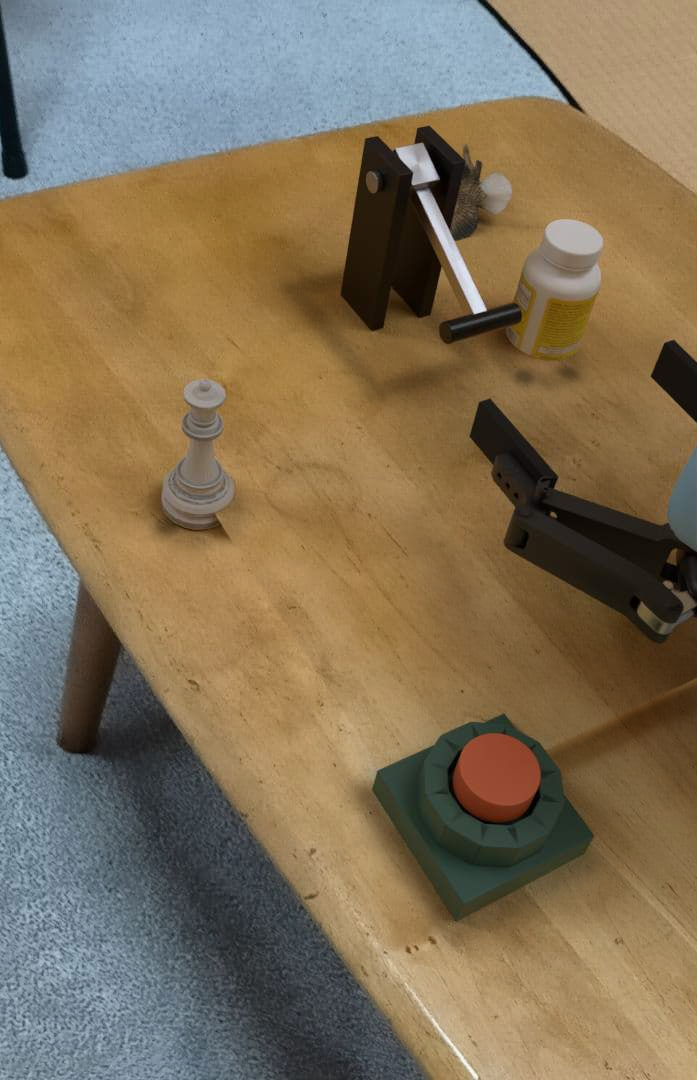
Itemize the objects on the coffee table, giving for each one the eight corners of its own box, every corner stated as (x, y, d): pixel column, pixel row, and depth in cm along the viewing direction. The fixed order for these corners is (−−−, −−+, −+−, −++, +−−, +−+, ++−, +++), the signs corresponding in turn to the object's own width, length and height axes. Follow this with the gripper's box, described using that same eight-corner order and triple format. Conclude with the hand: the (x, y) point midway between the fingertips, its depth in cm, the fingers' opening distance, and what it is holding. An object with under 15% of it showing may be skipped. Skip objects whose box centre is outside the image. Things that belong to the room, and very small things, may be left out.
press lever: (511, 331, 81) (528, 314, 79) (442, 351, 78) (457, 334, 76) (429, 158, 83) (444, 137, 81) (359, 173, 80) (372, 152, 78)
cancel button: (502, 739, 63) (510, 720, 61) (548, 803, 61) (557, 785, 59) (436, 770, 61) (443, 751, 60) (482, 836, 59) (489, 818, 58)
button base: (496, 732, 67) (513, 691, 64) (584, 854, 63) (607, 816, 60) (370, 790, 64) (382, 749, 61) (455, 922, 60) (472, 885, 57)
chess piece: (156, 480, 76) (159, 356, 69) (227, 475, 77) (238, 352, 70) (166, 534, 73) (170, 410, 66) (239, 528, 74) (251, 406, 67)
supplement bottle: (588, 350, 90) (629, 238, 83) (550, 385, 87) (588, 272, 80) (526, 315, 92) (561, 202, 84) (487, 348, 89) (519, 234, 81)
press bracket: (473, 357, 88) (519, 189, 78) (378, 385, 84) (412, 214, 74) (386, 259, 94) (417, 92, 84) (294, 282, 91) (315, 111, 80)
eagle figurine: (433, 169, 101) (357, 183, 95) (493, 123, 96) (416, 135, 90) (472, 254, 101) (399, 274, 95) (534, 213, 96) (459, 231, 90)
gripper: (611, 792, 59) (384, 492, 70) (954, 618, 69) (709, 380, 80) (661, 706, 54) (405, 394, 65) (1026, 531, 64) (752, 287, 75)
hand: (573, 386), depth 73 cm, fingers open, 13 cm apart
